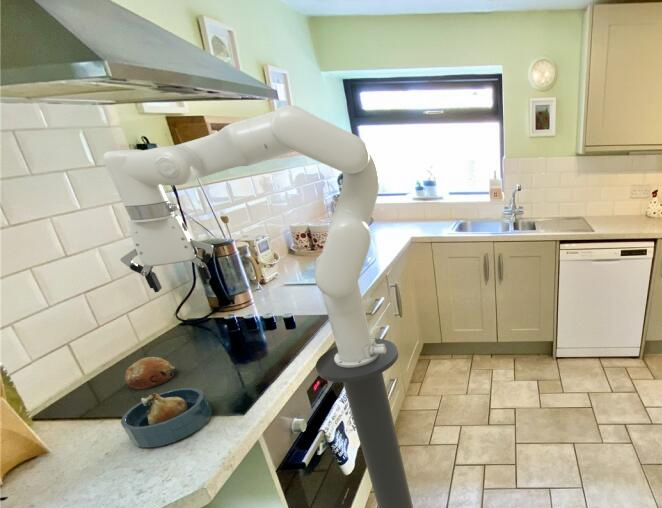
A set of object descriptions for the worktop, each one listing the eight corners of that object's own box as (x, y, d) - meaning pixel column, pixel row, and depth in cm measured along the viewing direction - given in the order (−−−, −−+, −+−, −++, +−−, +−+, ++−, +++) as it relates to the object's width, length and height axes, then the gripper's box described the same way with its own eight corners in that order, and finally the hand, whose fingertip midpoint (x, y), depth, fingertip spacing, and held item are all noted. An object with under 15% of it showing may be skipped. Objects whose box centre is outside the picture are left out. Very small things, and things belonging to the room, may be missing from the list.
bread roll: (165, 380, 119) (143, 358, 116) (188, 367, 115) (165, 344, 112) (133, 401, 110) (108, 377, 107) (157, 387, 107) (132, 363, 104)
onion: (149, 441, 88) (132, 410, 85) (154, 421, 94) (138, 392, 91) (192, 427, 92) (177, 398, 88) (194, 409, 98) (180, 380, 94)
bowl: (227, 406, 99) (218, 387, 97) (179, 450, 86) (167, 429, 84) (170, 406, 100) (160, 387, 98) (115, 449, 88) (101, 428, 85)
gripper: (200, 204, 97) (227, 275, 104) (106, 214, 90) (143, 288, 98) (194, 209, 90) (223, 283, 98) (93, 220, 84) (133, 299, 92)
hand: (183, 286), depth 98 cm, fingers open, 9 cm apart
